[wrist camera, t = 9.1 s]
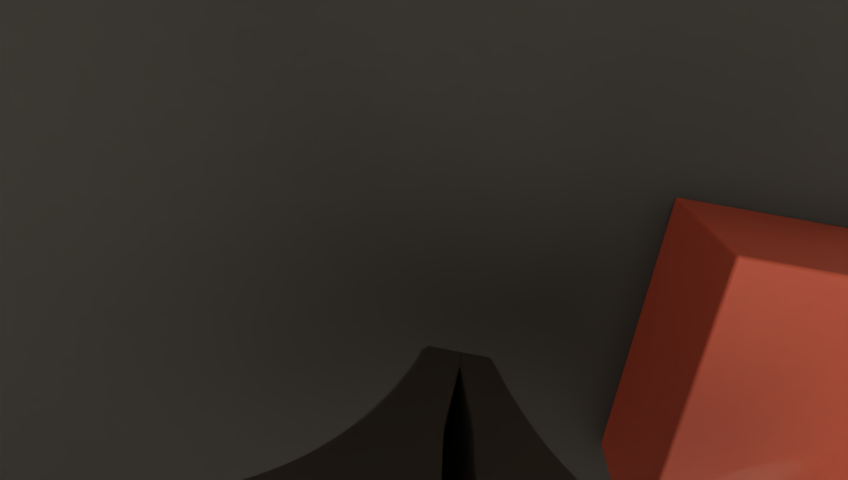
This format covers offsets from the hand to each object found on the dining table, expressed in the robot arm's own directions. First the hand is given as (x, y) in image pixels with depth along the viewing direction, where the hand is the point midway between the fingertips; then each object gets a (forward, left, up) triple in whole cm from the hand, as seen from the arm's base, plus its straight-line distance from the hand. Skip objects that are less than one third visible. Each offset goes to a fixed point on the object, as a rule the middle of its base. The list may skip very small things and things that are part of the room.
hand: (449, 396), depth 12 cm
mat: (0, +3, -5) cm, 6 cm away
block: (0, -7, -4) cm, 8 cm away
